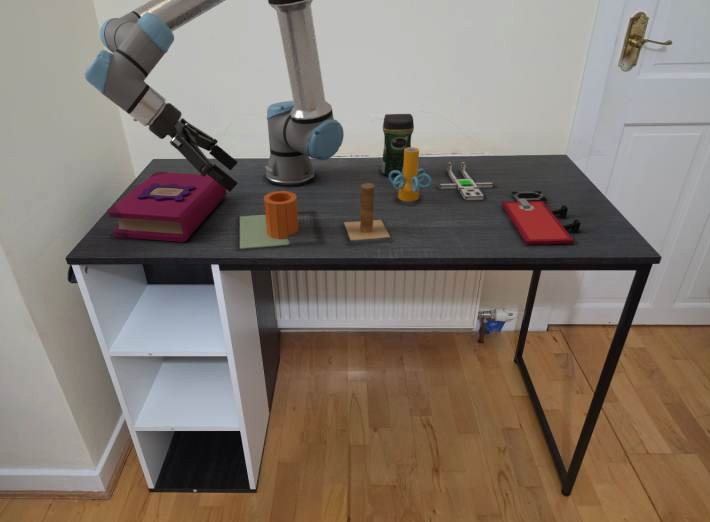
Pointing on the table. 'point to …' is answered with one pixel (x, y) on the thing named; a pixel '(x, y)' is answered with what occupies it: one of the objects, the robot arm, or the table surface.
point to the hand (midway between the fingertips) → (234, 176)
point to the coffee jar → (396, 141)
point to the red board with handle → (539, 219)
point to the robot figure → (465, 184)
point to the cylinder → (409, 176)
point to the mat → (257, 233)
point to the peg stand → (366, 218)
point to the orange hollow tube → (281, 214)
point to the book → (166, 207)
